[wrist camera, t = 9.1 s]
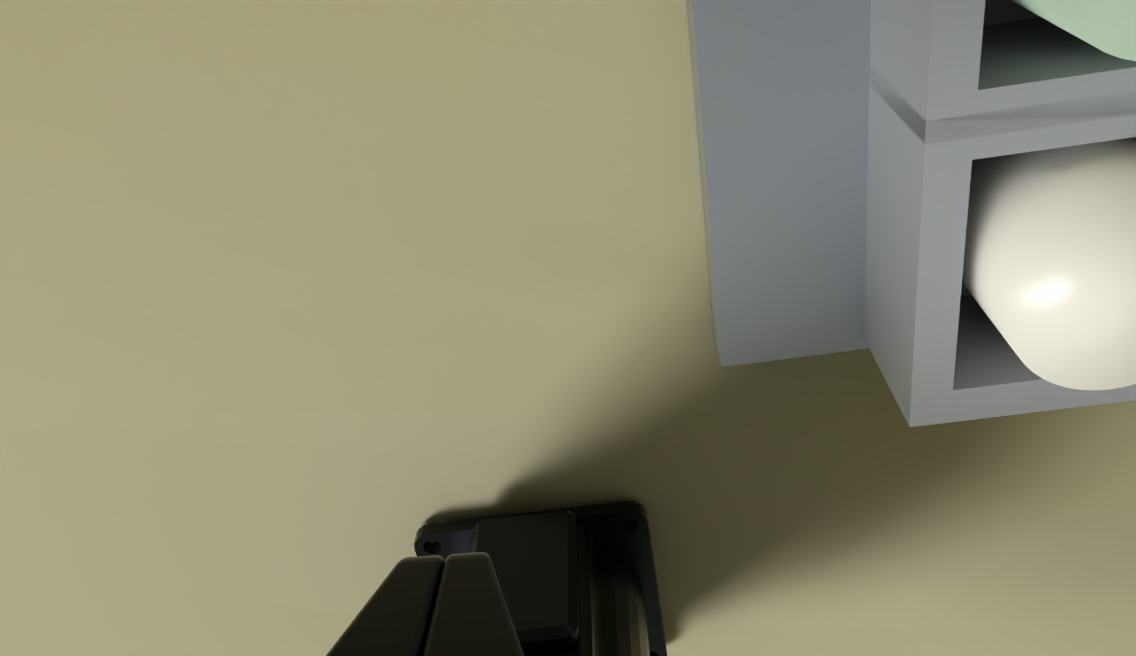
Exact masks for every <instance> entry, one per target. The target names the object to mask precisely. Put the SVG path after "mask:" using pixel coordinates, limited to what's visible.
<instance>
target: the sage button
mask: <svg viewBox="0 0 1136 656" xmlns="http://www.w3.org/2000/svg"><path fill="white" fill-rule="evenodd" d="M1011 1H1013V2H1015V3H1017V4H1018V5H1020V6H1022V7H1024V8H1026V9H1027V10H1029V11H1031V12H1033V13H1035V14H1036V15H1038V16H1040V17H1042V18H1044V19H1045V20H1047V21H1049V22H1051V23H1053V24H1054V25H1056V26H1058V27H1060V28H1062V29H1063V30H1065V31H1067V32H1069V33H1071V34H1072V35H1074V36H1076V37H1078V38H1080V39H1081V40H1083V41H1085V42H1087V43H1089V44H1090V45H1092V46H1094V47H1096V48H1098V49H1100V50H1101V51H1103V52H1105V53H1107V54H1110V55H1113V56H1116V57H1118V58H1121V59H1126V60H1131V61H1136V0H1011Z"/></svg>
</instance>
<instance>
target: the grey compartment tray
mask: <svg viewBox="0 0 1136 656" xmlns="http://www.w3.org/2000/svg"><path fill="white" fill-rule="evenodd" d="M687 10H688V22H689V35H690V47H691V59H692V71H693V83H694V96H695V108H696V120H697V132H698V145H699V157H700V169H701V181H702V193H703V206H704V218H705V230H706V242H707V255H708V267H709V279H710V291H711V303H712V316H713V328H714V340H715V344H716V348H717V352H718V356H719V360H720V363H721V367H727V366H735V365H743V364H751V363H759V362H767V361H775V360H783V359H791V358H799V357H807V356H815V355H823V354H831V353H838V352H846V351H854V350H862V349H870V351H871V353H872V355H873V357H874V359H875V361H876V363H877V365H878V367H879V369H880V371H881V373H882V375H883V377H884V378H885V380H886V382H887V384H888V386H889V388H890V390H891V392H892V394H893V396H894V398H895V400H896V402H897V404H898V406H899V408H900V410H901V412H902V414H903V416H904V418H905V420H906V422H907V424H908V426H909V427H917V426H925V425H933V424H942V423H950V422H959V421H967V420H976V419H984V418H992V417H1001V416H1009V415H1018V414H1026V413H1035V412H1043V411H1051V410H1060V409H1068V408H1077V407H1085V406H1093V405H1102V404H1110V403H1119V402H1127V401H1136V384H1134V385H1131V386H1127V387H1122V388H1116V389H1110V390H1096V391H1095V390H1078V389H1071V388H1066V387H1063V386H1059V385H1056V384H1053V383H1051V382H1049V381H1046V380H1044V379H1042V378H1041V377H1039V376H1038V375H1036V374H1034V373H1033V372H1032V371H1031V370H1030V369H1029V368H1027V367H1026V366H1025V365H1024V364H1023V362H1022V361H1021V360H1020V358H1019V357H1018V356H1017V355H1016V353H1015V352H1014V351H1013V349H1012V348H1011V347H1010V345H1009V344H1008V343H1007V341H1006V340H1005V339H1004V337H1003V336H1002V335H1001V333H1000V332H999V331H998V329H997V328H996V327H995V325H994V324H993V323H992V321H991V320H990V319H989V317H988V316H987V315H986V313H985V312H984V311H983V309H982V308H981V307H980V305H979V304H978V303H977V301H976V300H975V299H974V297H973V296H972V295H971V293H970V292H969V291H968V289H967V288H966V287H965V285H964V284H963V283H962V275H963V263H964V251H965V239H966V227H967V215H968V203H969V191H970V179H971V167H972V160H975V159H982V158H989V157H996V156H1003V155H1011V154H1018V153H1025V152H1032V151H1039V150H1046V149H1053V148H1061V147H1068V146H1075V145H1082V144H1089V143H1096V142H1103V141H1110V140H1118V139H1125V138H1132V137H1133V138H1135V139H1136V61H1131V60H1126V59H1121V58H1118V57H1116V56H1113V55H1110V54H1107V53H1105V52H1103V51H1101V50H1100V49H1098V48H1096V47H1094V46H1092V45H1090V44H1089V43H1087V42H1085V41H1083V40H1081V39H1080V38H1078V37H1076V36H1074V35H1072V34H1071V33H1069V32H1067V31H1065V30H1063V29H1062V28H1060V27H1058V26H1056V25H1054V24H1053V23H1051V22H1049V21H1047V20H1045V19H1044V18H1042V17H1040V16H1038V15H1036V14H1035V13H1033V12H1031V11H1029V10H1027V9H1026V8H1024V7H1022V6H1020V5H1018V4H1017V3H1015V2H1013V1H1011V0H687Z"/></svg>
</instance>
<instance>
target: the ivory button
mask: <svg viewBox="0 0 1136 656" xmlns="http://www.w3.org/2000/svg"><path fill="white" fill-rule="evenodd" d="M962 283H963V284H964V285H965V287H966V288H967V289H968V291H969V292H970V293H971V295H972V296H973V297H974V299H975V300H976V301H977V303H978V304H979V305H980V307H981V308H982V309H983V311H984V312H985V313H986V315H987V316H988V317H989V319H990V320H991V321H992V323H993V324H994V325H995V327H996V328H997V329H998V331H999V332H1000V333H1001V335H1002V336H1003V337H1004V339H1005V340H1006V341H1007V343H1008V344H1009V345H1010V347H1011V348H1012V349H1013V351H1014V352H1015V353H1016V355H1017V356H1018V357H1019V358H1020V360H1021V361H1022V362H1023V364H1024V365H1025V366H1026V367H1027V368H1029V369H1030V370H1031V371H1032V372H1033V373H1034V374H1036V375H1038V376H1039V377H1041V378H1042V379H1044V380H1046V381H1049V382H1051V383H1053V384H1056V385H1059V386H1063V387H1066V388H1071V389H1078V390H1095V391H1096V390H1110V389H1116V388H1122V387H1127V386H1131V385H1134V384H1136V139H1135V138H1133V137H1132V138H1125V139H1118V140H1110V141H1103V142H1096V143H1089V144H1082V145H1075V146H1068V147H1061V148H1053V149H1046V150H1039V151H1032V152H1025V153H1018V154H1011V155H1003V156H996V157H989V158H982V159H975V160H972V167H971V179H970V191H969V203H968V215H967V227H966V239H965V251H964V263H963V275H962Z"/></svg>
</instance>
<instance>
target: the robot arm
mask: <svg viewBox="0 0 1136 656" xmlns="http://www.w3.org/2000/svg"><path fill="white" fill-rule="evenodd" d="M627 518H634V519H635V520H633V521H630V522H629V521H624V519H627ZM428 541H436V542H438V543H430V542H428ZM414 547H415V552H416V555H417V557H407V558H404V559H402V560H401V561H400V562H398V563H397V565H396V566H395V567H394V568H393V570H392V571H391V572H390V574H389V575H388V576H387V577H386V579H385V580H384V581H383V583H382V584H381V585H380V587H379V588H378V589H377V590H376V592H375V593H374V594H373V596H372V597H371V598H370V599H369V601H368V602H367V603H366V605H365V606H364V607H363V609H362V610H361V611H360V612H359V614H358V615H357V616H356V618H355V619H354V620H353V621H352V623H351V624H350V625H349V627H348V628H347V629H346V631H345V632H344V633H343V634H342V636H341V637H340V638H339V640H338V641H337V642H336V643H335V645H334V646H333V647H332V649H331V650H330V651H329V653H328V654H327V655H326V656H667V650H666V642H665V635H664V628H663V621H662V615H661V608H660V601H659V594H658V587H657V580H656V573H655V566H654V559H653V552H652V546H651V539H650V532H649V525H648V518H647V512H646V510H645V508H644V507H643V506H642V505H641V504H639V503H637V502H634V501H624V502H616V503H607V504H598V505H590V506H581V507H572V508H564V509H555V510H546V511H538V512H529V513H520V514H512V515H503V516H494V517H485V518H477V519H468V520H459V521H451V522H442V523H433V524H428V525H424V526H422V527H421V528H420V529H419V530H418V532H417V533H416V538H415V543H414ZM650 651H651V652H650Z"/></svg>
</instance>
